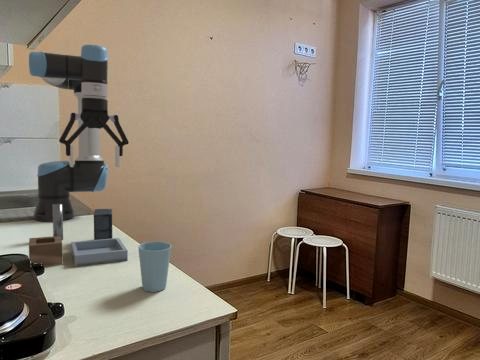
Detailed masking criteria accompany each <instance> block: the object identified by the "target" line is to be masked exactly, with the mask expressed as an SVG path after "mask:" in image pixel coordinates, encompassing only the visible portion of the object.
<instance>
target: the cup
mask: <svg viewBox="0 0 480 360" xmlns="http://www.w3.org/2000/svg"><path fill="white" fill-rule="evenodd" d="M137 248H138V249H137V250H138V256H139V267H140V276H141V285H142V290H143V289H144V290H143V291H145V290H146V291H145V292H148V291H150V292H149V293H157V291H159V292H162V291H164V290H166V287H167V284H168V283H167V282H168V273H169V267H170V259H171V252H172V244H170V243H168V242H165V241H148V242H143V243H141V244H139V245H138V247H137ZM163 289H164V290H163ZM161 290H162V291H161Z"/></svg>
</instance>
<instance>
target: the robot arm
mask: <svg viewBox="0 0 480 360" xmlns="http://www.w3.org/2000/svg"><path fill="white" fill-rule="evenodd" d="M108 61H109V56H108V50H107V48H106V47H104V46H102V45H98V44H97V45H96V44H83V45H82V46H81V52H80V56H79V55H72V54H70V55H68V54H59V53H50V52H44V51H30V52H29V54H28V69H29V74H30V75H31V76H32V77H38V78H41V79H42V80H43V81H44V83H46V84H47V85H50V86H53V87H56V88H58V89H62V90H71V91H73V95H74V97H76V98H77V113H76V112H71V113H70V115H69V116H70V117H69V121H68V123H67V125H66V127H65V128H64V130H63V131H62V134H61V135H60V138H58V139H59V140H58V142H59V143H60V144H63V145H65V155H66V156H67V157H69V161H68V160H58V161H56V160H55V161H50V162H44V163H41V164H39V165H38V167H37V175H36V177H37V192H38V193H37V196H38V199H37V203H36V205H35V208H34V212H33V219H34V220H35V221H39V222H53V204H63V221H66V220H67V221H68V220H71V219H73V218H74V217H75V210H74V207H73V205H72V201H71V200H70V199H71V198H70V193H90V192H91V193H94V192H103V191H104V190H105V188H106V186H107V185H106V184H107V181H108V174H109V173H108V171H109V170H108V169H109V165H108V164H106V163H105V159H104V158H102V156H101V129H102V128H103V130H104V131H105V132H106V133H107V134H108V135H109V136H110V138H112V140H113V141H114V142H115V144H117V145H115V147H114V150H115V151H114V159H115V161H114V164H115V165H114V166H115V167H117V168H120V157H123V154H124V153H123V152H124V151H123V150H124V148H123V147H124V146H126V145H128V144H129V140H128V138H127V136H126V134H125V131H124V130H123V128H122V126H121V124H120V120H119V116H118V115H117V114H113V115H109V112H108V111H109V110H108V108H109V107H108V103H109V101H108V99H106V98H109V97H108V71H109V70H108V66H109V65H108V63H109V62H108ZM75 121H77V127H78V128H77V129H76V130H75V131H74V133H72V134H71V135H70V137H69V138H68V139H67V137H68V135H69V133H70V131H71V129H72V128H73V126H74V124H75ZM108 121H111V123H113V124H114V126H115V128H116V130H117V133H118V135H119V136H120V139H119V137H118V136H117V134H115V133H114V132H115V131H114V132H113V130H112V129H111V128H110V126H109V124H108ZM77 138H78V141H77V142H78V144H77V145H78V156H77V157H76V158H75V159H74V145H73V144H72V143H73V142H74V141H75V140H76V139H77ZM66 139H67V140H66Z"/></svg>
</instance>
